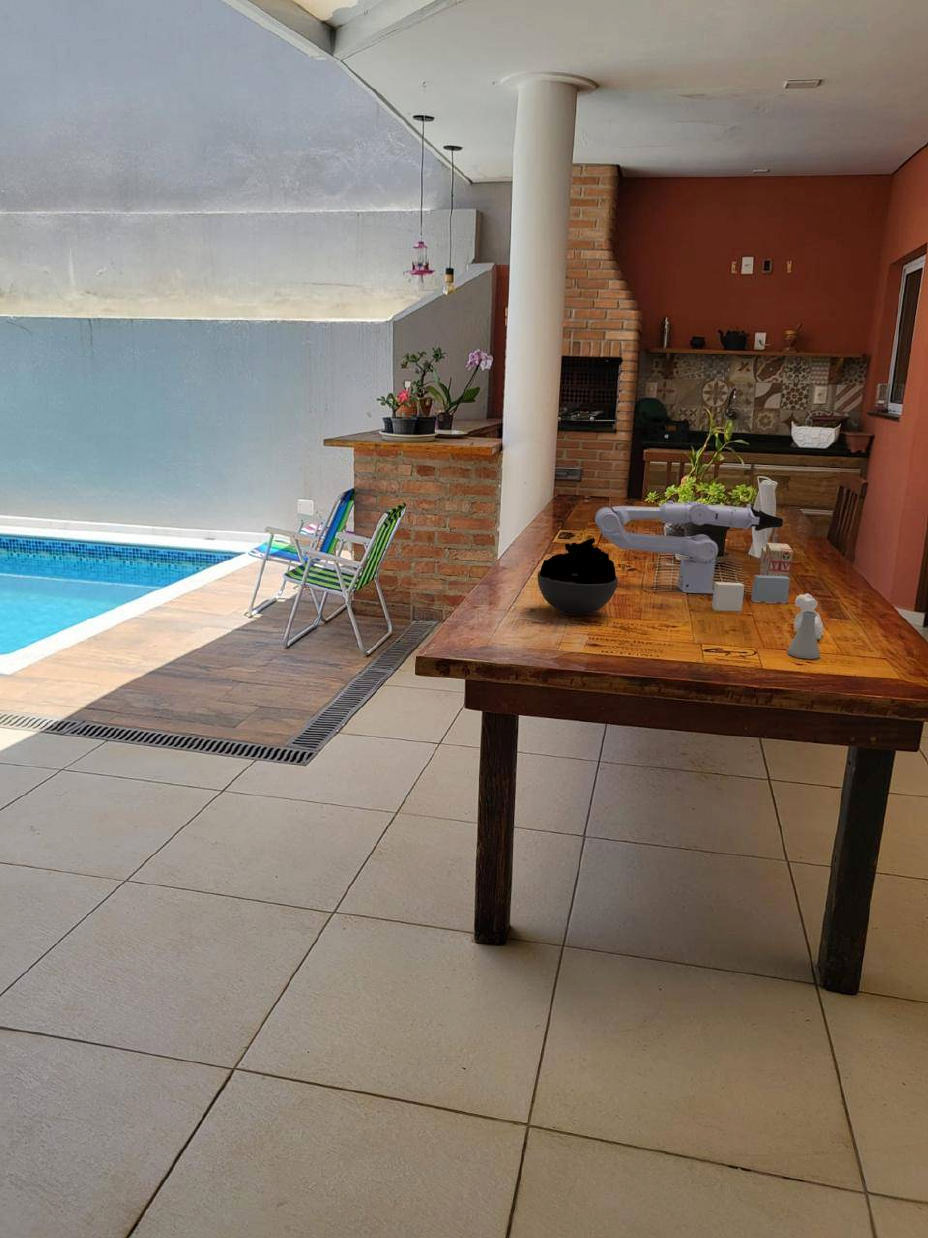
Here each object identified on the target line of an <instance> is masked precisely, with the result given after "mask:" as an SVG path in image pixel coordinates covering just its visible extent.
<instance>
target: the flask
mask: <svg viewBox="0 0 928 1238" xmlns="http://www.w3.org/2000/svg"><path fill="white" fill-rule="evenodd" d="M816 612H817V611H816ZM816 612H813V611H802V614H803V618H802V622H801V625H800V628H799V629H798V631H796V633H795V635H794V637H793V639H792V640H791V642H790V644H789V646H788V647H787V650H786V652H787V654H788V655H790V656H792V657H795V658H798V659H806V660H814V659H815V660H816V659H821V653H820V648H819V645H818V639H816V634H815V617H816V616H817V613H818V612H817V613H816Z"/></svg>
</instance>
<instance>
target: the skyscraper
mask: <svg viewBox="0 0 928 1238" xmlns="http://www.w3.org/2000/svg"><path fill="white" fill-rule="evenodd" d="M759 478H761V479H764V480H762V481H761V482H760V479H759ZM756 481H757V485H758V486H757V487H758V492H757V495H756V497H755V500H754V505H753V507H752V508H753V509H755V510H756V511H758V512H759V510H761V511H763V512H764V513H766V514H768V515H771V516H774V517H776V512H777V500H776V490H777V487H778V485H779V484H778V482H777V481H774V480H772V479H770V478H769V477H767V476H762V475H761V476H757V477H756ZM774 528H775V531H774V534H773V536H772V543H778V537H779V535H778V530H779V529H778V528H779V527H774ZM751 532H752V543H751V546H750V549H749V550H748V553H747V555H748V554H749V555H748V556H750V555H751V556H750V557H752V556H753V558H755V557H756V559H758V560H761V551H762V547H766V543H769V539H770V536H771V535H772V532H773V528H765V529H762V530H759V531H756V530H755V526H753V527H751Z"/></svg>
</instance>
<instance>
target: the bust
mask: <svg viewBox="0 0 928 1238" xmlns="http://www.w3.org/2000/svg"><path fill="white" fill-rule="evenodd" d="M794 605H795V607H797V608H801V610H800V611H799V612H798V613H797V614H796V615H795V619H794V621H793V622H794V623H793V626H794V629H795V631H796V632H797V631H798V629H799V628H800V625H801V622H802V618H803V614H802V611H813V612H816V613H817V616H816V617H815V634H816V639H817V640H820V639H822V636H823V633H824V631H825V629H824V624H823V621H822V618H821V615H820V614H819V612H817V611H816V608H817V607H818V606H819V604H818V601H817V600H816V599H815V598H814V597H813V596H812V594H809V593H805V594H801V593H800V594H799V595H797V596H796V599H795V601H794Z"/></svg>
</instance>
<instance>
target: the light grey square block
mask: <svg viewBox="0 0 928 1238" xmlns="http://www.w3.org/2000/svg"><path fill="white" fill-rule="evenodd" d="M713 590H714V594H713V596H712V602H711V604H712V606H711V609H713V610H714V611H719V612H721V611H722V612H729V611H730V612H742V608H743V600H744V594H745V593H744V592H745V584H743V583H741V582H723V581H722V582H721V581H715V582H714V586H713Z"/></svg>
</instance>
